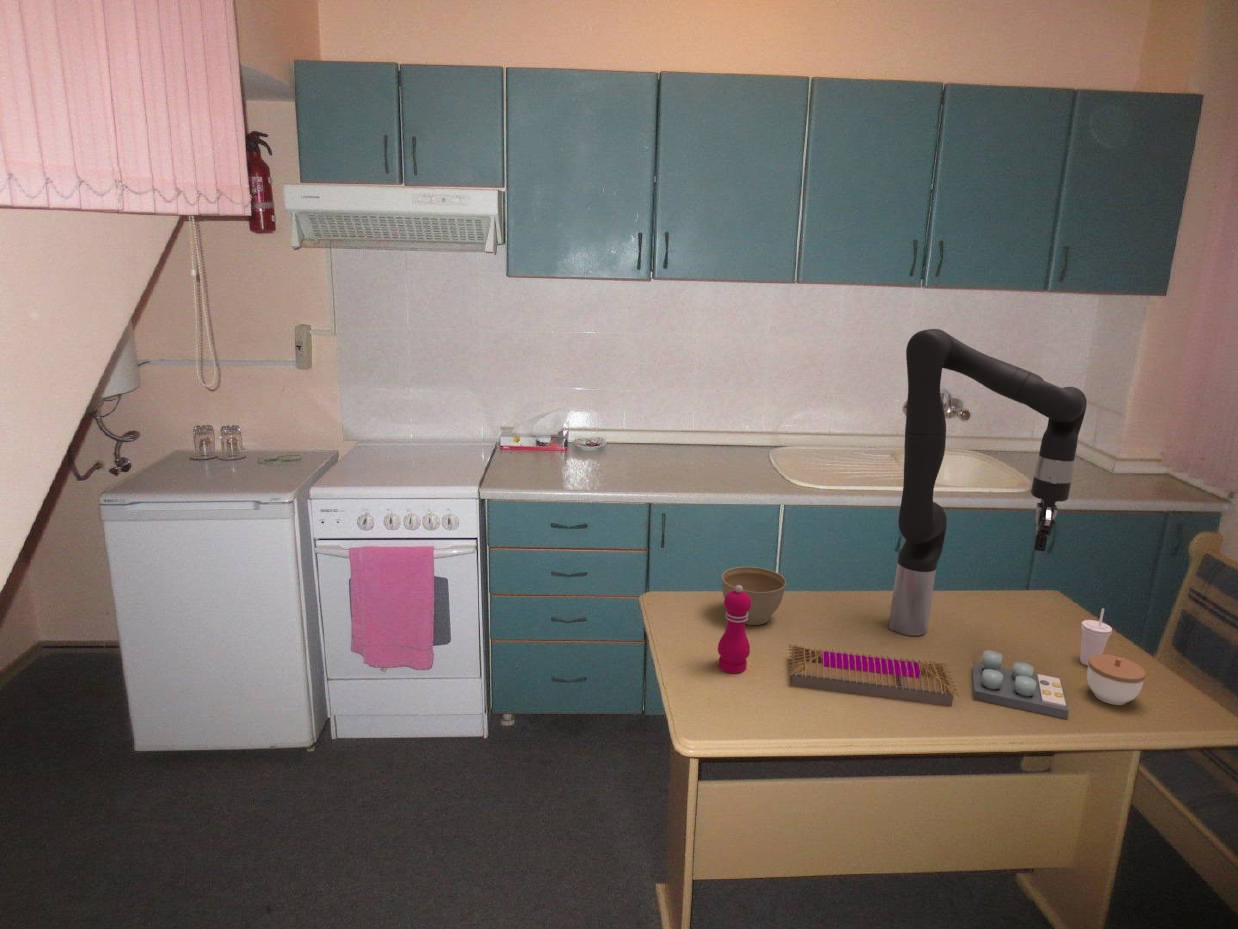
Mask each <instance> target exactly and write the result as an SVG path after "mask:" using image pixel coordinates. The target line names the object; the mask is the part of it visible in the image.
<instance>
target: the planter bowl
mask: <svg viewBox="0 0 1238 929" xmlns="http://www.w3.org/2000/svg"><path fill="white" fill-rule="evenodd" d="M721 582H722V584H721V585H722V586H721V587H722V595H723V600H725V597H726V595H727V594H728V593H729V592H731V591H734V590H735V587H736V586H737V585H741V586H742V587H743V591H744V592H746V593H747V594H748V595H749V596H750V598H751V608H750V610H749V611H748V620H747V621H745V625H749V626H759V625H764V624H766V623H768V622H769V621H770V619H771V616H772V615H773V614H774V613H775V612H776V611H777V610H778V608H779V606H780V605H781V602H782V601H783V596H784V594H785V588H786V586H787V581H786V579H785V577H784V576H783V575H781V574H780V573H778V572H776V571H774V570H771V569H767V568H763V567H758V566H757V567H756V566H737V567H731V568H729V569H727V570H725V571H724V572H722V575H721Z"/></svg>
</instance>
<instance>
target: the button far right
mask: <svg viewBox="0 0 1238 929" xmlns="http://www.w3.org/2000/svg"><path fill="white" fill-rule="evenodd" d="M1034 669H1035V668H1034V667H1033V666H1032V665H1031V664H1028V663H1026V662H1020V661H1017V662H1014V663H1013V668H1012V670H1013V672H1012V676H1013V677H1014V678H1015V680H1016V677H1017V676H1027V677H1030V678H1032V676H1033V674H1034V671H1035V670H1034Z"/></svg>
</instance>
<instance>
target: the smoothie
mask: <svg viewBox="0 0 1238 929" xmlns="http://www.w3.org/2000/svg"><path fill="white" fill-rule="evenodd" d="M1104 613H1105V608H1101V611H1100V616H1099V620H1098V621H1097V620H1095V619H1085V620H1083V621H1081V624H1080V627H1081V640H1080V641H1081V644H1080V659H1079V660H1080V663H1081V664H1083V665H1084V666H1087V667H1088V665H1089V664H1088V662H1089V658H1090V657H1091V656H1093V655H1098V654H1104V650H1105V648H1106V645H1107V643H1108V640H1109V637H1110V635H1112V634H1113V627H1111V626H1110V625H1108V624H1107V623H1105V622H1103V618H1104Z"/></svg>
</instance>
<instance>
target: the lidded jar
mask: <svg viewBox="0 0 1238 929" xmlns="http://www.w3.org/2000/svg"><path fill="white" fill-rule="evenodd" d="M1088 664H1089V665H1088V666H1087V672H1086V679H1087V683H1088V686H1089V688H1090V691H1092V692H1093V694H1094V696H1095V697H1096V698H1097V699H1098V700H1099V701H1102V702H1104V703H1106V704H1110V705H1113V706H1123V705H1126V703H1129V702H1131V701H1133V700H1135V698H1137V697H1138V696H1139V694H1140V692H1141V690H1142V688H1143V684H1144V682H1145V679H1146V675H1147V674H1146V670H1144V668H1143V667H1142V666H1141V665H1139V664H1137V662H1133V661H1132V660H1129V659H1127V658H1124V657H1122V656H1121V657H1120V656H1117V655H1112V654H1106V653H1105V654H1104V653H1102V654H1098V655H1093V656H1091V657H1090V658H1089V662H1088Z"/></svg>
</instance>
